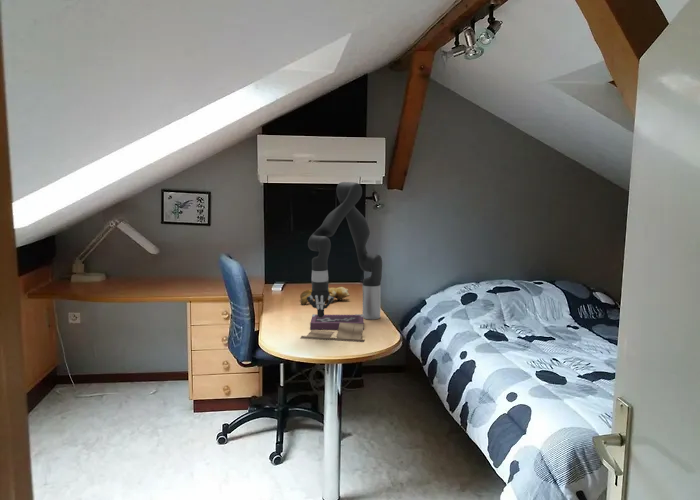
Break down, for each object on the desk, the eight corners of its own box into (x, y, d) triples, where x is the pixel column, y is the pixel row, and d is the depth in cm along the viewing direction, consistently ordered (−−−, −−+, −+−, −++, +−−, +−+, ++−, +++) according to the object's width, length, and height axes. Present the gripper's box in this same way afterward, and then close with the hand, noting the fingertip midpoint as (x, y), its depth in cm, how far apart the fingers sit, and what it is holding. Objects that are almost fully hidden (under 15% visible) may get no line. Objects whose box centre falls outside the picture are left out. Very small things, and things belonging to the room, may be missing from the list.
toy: (301, 310, 311) (352, 304, 318) (301, 295, 307) (352, 289, 315) (297, 299, 323) (345, 294, 331) (296, 285, 320) (345, 280, 328)
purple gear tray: (363, 324, 272) (363, 314, 271) (363, 333, 256) (363, 323, 255) (312, 324, 272) (312, 314, 272) (310, 333, 256) (309, 322, 256)
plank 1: (311, 332, 254) (311, 330, 254) (334, 334, 251) (334, 331, 251) (306, 339, 245) (305, 336, 245) (329, 340, 243) (329, 337, 243)
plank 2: (340, 324, 249) (339, 322, 248) (363, 325, 247) (363, 323, 246) (336, 339, 243) (336, 338, 242) (360, 341, 240) (360, 339, 240)
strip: (301, 339, 245) (301, 335, 245) (364, 343, 239) (364, 339, 239) (299, 341, 242) (299, 337, 242) (363, 345, 236) (363, 341, 236)
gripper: (336, 278, 248) (336, 315, 250) (308, 277, 250) (309, 314, 253) (332, 281, 240) (332, 319, 243) (303, 281, 243) (304, 318, 246)
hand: (320, 317), depth 248 cm, fingers closed
